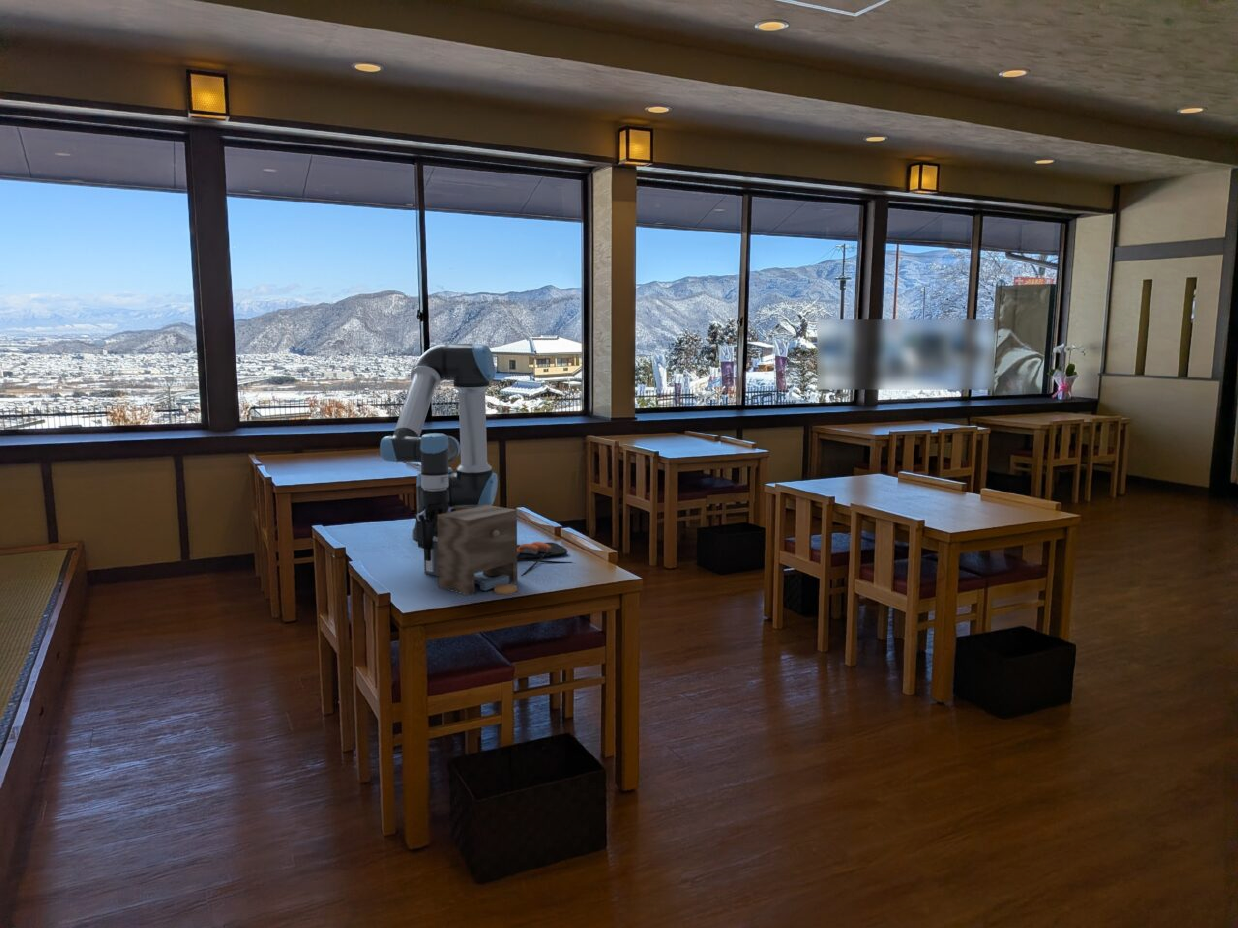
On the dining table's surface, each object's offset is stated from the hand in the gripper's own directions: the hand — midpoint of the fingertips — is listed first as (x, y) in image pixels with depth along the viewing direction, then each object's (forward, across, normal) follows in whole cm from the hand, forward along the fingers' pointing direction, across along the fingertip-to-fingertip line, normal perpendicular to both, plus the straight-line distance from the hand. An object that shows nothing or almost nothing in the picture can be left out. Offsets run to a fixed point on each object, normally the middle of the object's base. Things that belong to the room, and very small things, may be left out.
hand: (436, 569), depth 244 cm
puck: (+1, 0, -27) cm, 27 cm away
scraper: (+1, 0, -10) cm, 11 cm away
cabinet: (+1, 0, -17) cm, 17 cm away
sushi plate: (+2, +26, -11) cm, 28 cm away
